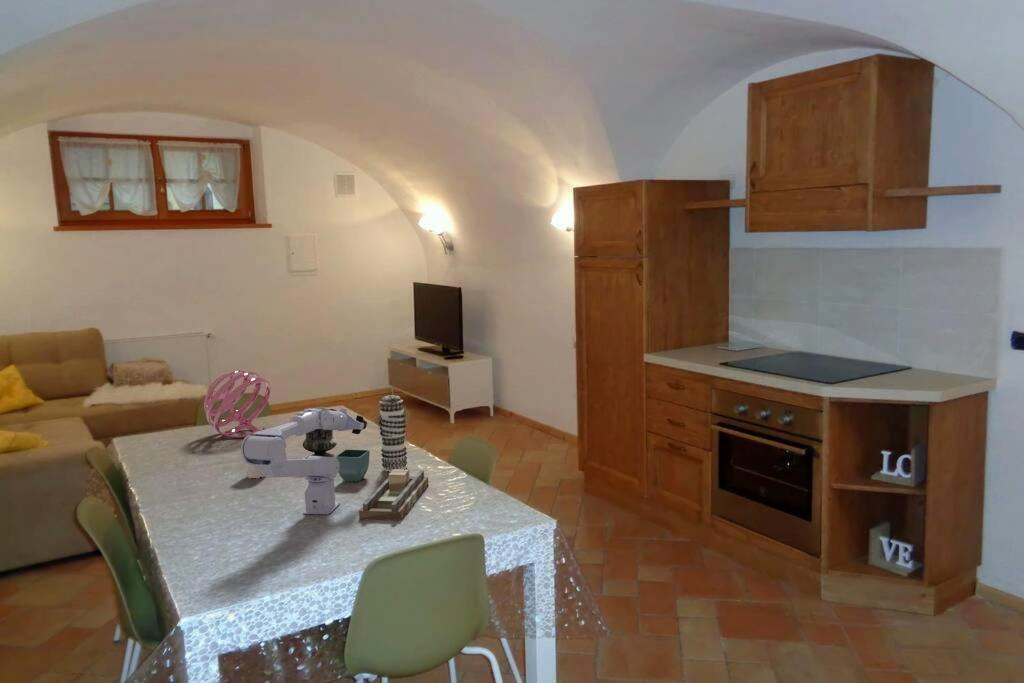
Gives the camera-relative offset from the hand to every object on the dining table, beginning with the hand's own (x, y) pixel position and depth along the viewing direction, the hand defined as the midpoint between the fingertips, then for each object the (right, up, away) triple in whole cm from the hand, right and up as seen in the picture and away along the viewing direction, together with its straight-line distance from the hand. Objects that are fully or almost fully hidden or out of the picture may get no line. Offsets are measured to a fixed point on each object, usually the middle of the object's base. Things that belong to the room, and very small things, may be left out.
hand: (355, 422), depth 244 cm
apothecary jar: (-20, -17, +36) cm, 44 cm away
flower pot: (-2, -20, +9) cm, 22 cm away
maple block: (+15, -19, -9) cm, 26 cm away
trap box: (+15, -22, -12) cm, 29 cm away
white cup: (-36, -20, +17) cm, 45 cm away
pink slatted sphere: (-63, -13, +76) cm, 100 cm away
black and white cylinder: (+10, -18, +20) cm, 29 cm away
